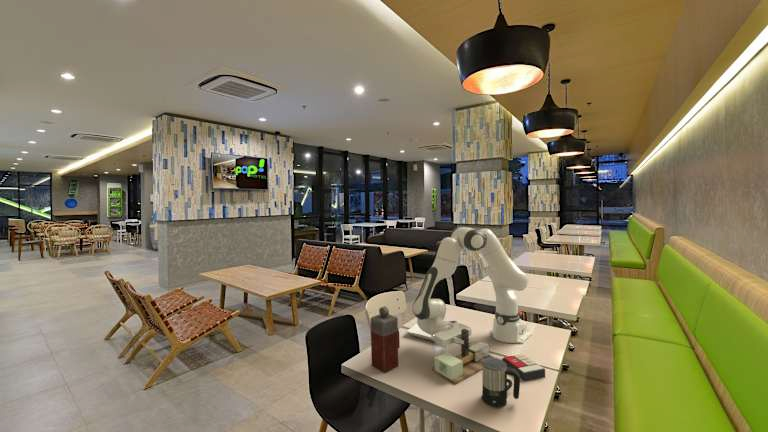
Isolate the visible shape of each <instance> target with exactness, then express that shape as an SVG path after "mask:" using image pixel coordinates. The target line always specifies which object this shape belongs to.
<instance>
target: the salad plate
mask: <svg viewBox="0 0 768 432" xmlns="http://www.w3.org/2000/svg"><path fill="white" fill-rule="evenodd" d="M406 332H407V334H410V335H411V336H413V337H416V338H420V339H424V340H429V341H433V342H435V341H434V340H432V339H431V336H432V335H429V334H427V333H426V332H424V331H422V330H421V329H420V328H419V326H418V324H417V323H415V324H414V325H412V326H411V327H410V328H409V329H408V330H406Z"/></svg>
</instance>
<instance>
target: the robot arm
mask: <svg viewBox="0 0 768 432" xmlns="http://www.w3.org/2000/svg"><path fill="white" fill-rule="evenodd" d="M464 250H468V251H472V252H475V251H479V252H480V254H481V255H482V257H483V259H484V261H485V262H486V264H487V265H488V267H489V268H488V271H487V276H488V278H489V279H490V282H491V283H492V286H493V290H494V295H495V310H494V311H495V312H494V318H493V323H492V329H491V330H490V332H491V333H492V337H493V338H494V339H495V340H496V341H499V342H502V343H507V344H513V343H514V344H524V343H525V342H526V341H527V340H528V339H529V338H530V337H531V336H532V331H529V330H528V324H527V323H526V322H525V321H523V320H522V319H521V317H520V316H522V315H523V312H522V311H520V310H518V309H519V300H518V297H517V295H516V293H515V292H516V291H518V292H522V291H523V290H524V291H525V289H527V287H528V285H529V277H528V275H527V274H526V273H525V272H524V271H522V270H521V269H520V268H519V267H518V265H516V264H515V262H514V261H513V260H512V259H511V257H509V255H508V254H507V252H506V250H505V248H504V247H503V246H502V244H501V242H500V241H499V239H498V237H497V236H496V234H494V232H493V231H492V230H491V229H489V228H481V229H479V230H478V229H475V228H472V227H467V226H463V225H462V226H457V227H455V228H453V230H452V231H451V232H450V234H449V235H448V237H444V238H443V239H442V240H441V241H440V244H439V246H438V250H437V252H436V256H435V259H434V261H433V263H432V266H430V267H429V268H428V269H427V270H428V271H427V272H426V274H425V276H424V279H423V281H422V284H421V287H420V289H419V292H418V293H417V297H416V298H415V299H414V301H413V303H412V313H413V315H414V316H415V317H416V318H417V320H416V324H418V326H419V328H420V329H421V330H422V331H424V332H426V333H427V334H429V335H432V336H431V339H432V340H434V341H433V342H434V343H435V344H436V345H438V346H440V347H443V348H445V347H448V346H450V345H453V344H454V343H455V344H460V345H461V344H465V340H463V339H461V330H462V329H467V330H469V342H471V338H470V337H471V336H472V328H471V326H468V325H466V324H463V323H460V322H458V321H457V320H445V317H446V312H447V307H446V304H445V302H444V301H443V299H440V298H431V297H432V295H433V292H434V289H435V286H436V285H437V284H438V283H439V282H440V281H441V280H444V279H446V278H449V277H451V276H452V275H453V274H454V273H455V271H457V270H456V269H457V266H458V262H459V257H460V255H461V252H462V251H464ZM432 340H431V341H432Z"/></svg>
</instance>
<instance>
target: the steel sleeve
mask: <svg viewBox="0 0 768 432" xmlns="http://www.w3.org/2000/svg"><path fill="white" fill-rule="evenodd" d="M489 348H490V345H489V344H487V343H485V342H482V341H478V342H477V343H473V344H472V345H469V350H471V351H473V352H475V359H473V360H471V361H473V362H475V363H478V362H480V361H481V360H480V359H482V358H483V357H484V358H488V357H490V356H491V355H490V349H489Z"/></svg>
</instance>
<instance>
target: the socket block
mask: <svg viewBox="0 0 768 432" xmlns="http://www.w3.org/2000/svg"><path fill="white" fill-rule="evenodd" d="M434 367H435V371H437V372H439V373H440V374H442V375H444V376H445V377H447V378H449V379H450V380H453V379H455V378H457V377H459V376H461V375H463V361H462V360H460V359H458V358H456V357H455V356H454V355H452V354H450V353H448V352H447V351H445V352H443V353H441V354H438V355H436V356H434Z"/></svg>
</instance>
